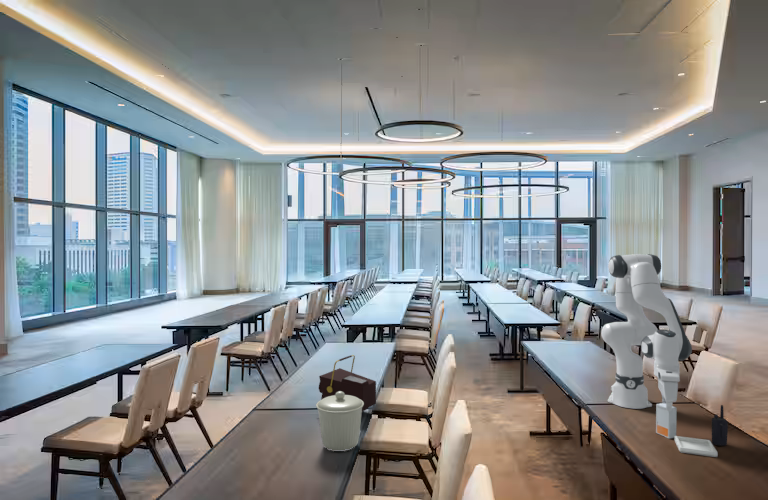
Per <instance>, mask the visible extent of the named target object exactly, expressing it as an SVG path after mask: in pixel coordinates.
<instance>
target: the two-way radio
mask: <svg viewBox="0 0 768 500" xmlns="http://www.w3.org/2000/svg"><path fill="white" fill-rule="evenodd" d="M719 415H720V417H719ZM719 415H718V414H714V417H712V419H711V443H712V445H713V446H714V445H715V446H727V445H728V431H729V430H728V429H729V427H728V426H729V425H728V420H727V419H726V418H724V417H725V415H724V405H723V404H720V414H719Z"/></svg>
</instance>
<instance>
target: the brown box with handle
mask: <svg viewBox="0 0 768 500" xmlns="http://www.w3.org/2000/svg"><path fill="white" fill-rule="evenodd" d="M352 357H353V358H352ZM355 357H356V355H354V354H352V355H348V356H344V357H342V358H339V359H337V360H336V361H335V362H334V364H333V370H332V371H329V372H326V373H323V374H321V375H319V376H318V377H319V383H318V391H319V393H321V398H320V400H322V399H323V398H326V397H328V396H333V395H335V394H336V393H337V392H338V391H342V392H344V394H345V395H351V396H355V397H357V398H359V399H361V400H362V401H363V402H364V406H363V407H362V413H363V412H365V411H366V410H367V409H369V408H370V407H373V406H374V405H375V404H377V381H376V380H374V379H370V378H369V377H368V378H367V377H365V376H363V375H361V374H357V373H355V372H353V370H354V363H355V359H356V358H355ZM350 358H352V364H351V370H350V371H348V370H346V369H344V368H340V367H339V368H337V369H336V366H337V365H336V364H337V363H338V362H342V361H344V360H347V359H350Z"/></svg>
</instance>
